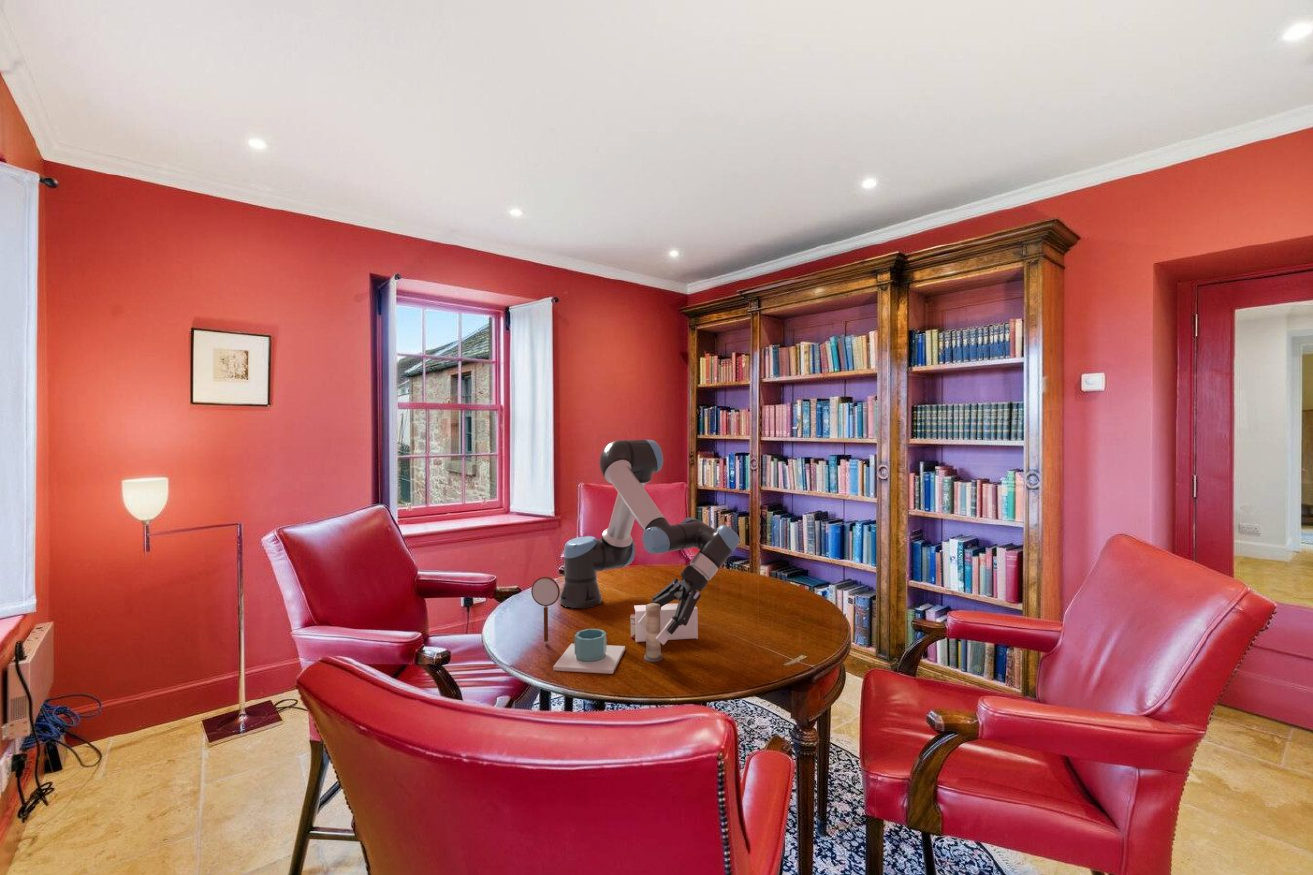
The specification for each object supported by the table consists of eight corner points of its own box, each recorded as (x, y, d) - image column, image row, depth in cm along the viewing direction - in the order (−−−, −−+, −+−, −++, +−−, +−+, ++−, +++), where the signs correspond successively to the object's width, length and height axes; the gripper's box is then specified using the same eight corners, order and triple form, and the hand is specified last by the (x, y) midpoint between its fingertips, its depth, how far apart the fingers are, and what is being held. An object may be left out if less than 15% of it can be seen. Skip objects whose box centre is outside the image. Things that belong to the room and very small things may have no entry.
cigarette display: (694, 632, 172) (694, 602, 172) (697, 639, 167) (697, 608, 167) (630, 636, 170) (629, 605, 170) (631, 643, 164) (631, 611, 164)
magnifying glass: (531, 644, 163) (530, 577, 163) (533, 642, 165) (532, 575, 165) (559, 646, 162) (558, 577, 162) (561, 643, 164) (560, 576, 164)
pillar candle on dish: (645, 653, 156) (645, 602, 156) (664, 654, 155) (663, 602, 155) (642, 661, 151) (642, 608, 151) (661, 662, 150) (661, 608, 150)
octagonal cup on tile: (571, 646, 162) (571, 622, 161) (625, 649, 159) (624, 625, 159) (553, 670, 146) (552, 643, 146) (612, 673, 143) (612, 646, 143)
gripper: (728, 592, 147) (677, 658, 142) (688, 571, 170) (643, 626, 165) (710, 574, 145) (658, 640, 140) (672, 555, 168) (626, 611, 163)
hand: (650, 633), depth 152 cm, fingers open, 13 cm apart
